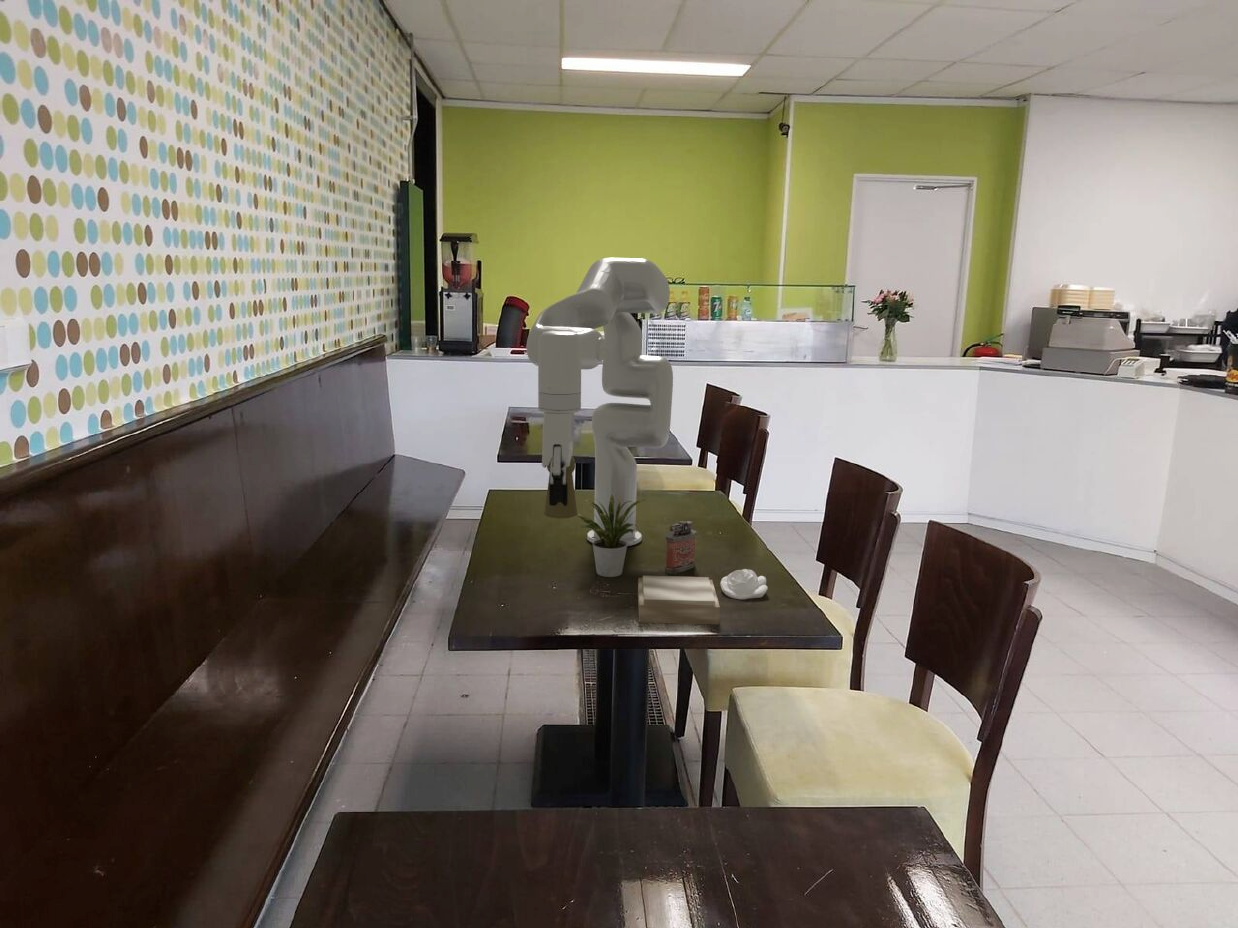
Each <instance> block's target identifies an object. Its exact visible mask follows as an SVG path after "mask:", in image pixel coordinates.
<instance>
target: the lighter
mask: <svg viewBox="0 0 1238 928" xmlns="http://www.w3.org/2000/svg"><path fill="white" fill-rule="evenodd" d="M692 527H693V521H691V520H690V521H689V520H687V521H683V520H679V521H678V522H677V523H673V524H671V525H669V532H671V533H668V534H666V535H665V540H666V550H665V551H666V556H665V565H664V572H666V573H669V574H676V573H680V572H685V571H687V570H690V569H692V568H695V567H696V561H695V555H696V554H695V553H696V552H695V551H696V550H695V549H696V536H697V530H695V529H692Z"/></svg>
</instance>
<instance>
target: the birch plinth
mask: <svg viewBox="0 0 1238 928" xmlns="http://www.w3.org/2000/svg"><path fill="white" fill-rule="evenodd" d="M637 579H638V580H637V584H638V585H637V601H638V602H637V603H638V608H637V609H638V623H646V624H647V623H648V624H649V623H650V624H680V625H681V624H684V625H685V624H687V625H691V624H692V625H720V611H721V607H720V603H719V599H718V595H717V593H716V589H715V585H714V582H713V579H710V577H708V576H706V577H705V576H676V575H675V576H671V575H670V576H668V575H642V577H638V578H637Z"/></svg>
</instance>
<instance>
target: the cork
mask: <svg viewBox="0 0 1238 928" xmlns="http://www.w3.org/2000/svg"><path fill="white" fill-rule="evenodd" d="M563 462H564V460H563ZM550 464H551V461H550V463H549V465H548V466H546V469H547V471H548V473H549V476H548V483H547V489H546V490H547V491H546V499H545V505H544V513H543V514H544V516H545V517H548V518H551V519H552V518H553V519H570V518H574V517H577V516H576V515H577V514H578V509H577V501H576V500H577V499H576V493H575V485H574V476H573V473H574V471H575V469H576V460H575V458H574V456H572V458H571V462H570V466H569V467H568V468H566V483H568V496H567V505H566V506H564V505H563V504H562V503H561V502H558V503H557V505H556V506H553V505H550V504H549V484H550ZM561 467H564V464H561ZM561 472H562V473H563V471H561Z"/></svg>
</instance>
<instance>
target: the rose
mask: <svg viewBox="0 0 1238 928" xmlns="http://www.w3.org/2000/svg"><path fill="white" fill-rule="evenodd" d="M719 585H720V589H721V590H722V592H723V594H725V596H727V597H729V598H732V599H737V600H748V599H757V598H763V596H765V594H766V592H767V591H768V586H767V578H766V576H763V575H760V576H758V575H757V574H756V572H755V571H754V570H752V569H747V568H743V569H737V570H734V571H732V572H731V573H729V574H728V575H726V576H724V577H722V578H721V580H720V584H719Z"/></svg>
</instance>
